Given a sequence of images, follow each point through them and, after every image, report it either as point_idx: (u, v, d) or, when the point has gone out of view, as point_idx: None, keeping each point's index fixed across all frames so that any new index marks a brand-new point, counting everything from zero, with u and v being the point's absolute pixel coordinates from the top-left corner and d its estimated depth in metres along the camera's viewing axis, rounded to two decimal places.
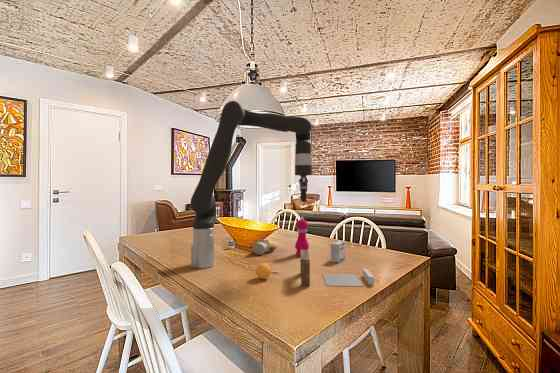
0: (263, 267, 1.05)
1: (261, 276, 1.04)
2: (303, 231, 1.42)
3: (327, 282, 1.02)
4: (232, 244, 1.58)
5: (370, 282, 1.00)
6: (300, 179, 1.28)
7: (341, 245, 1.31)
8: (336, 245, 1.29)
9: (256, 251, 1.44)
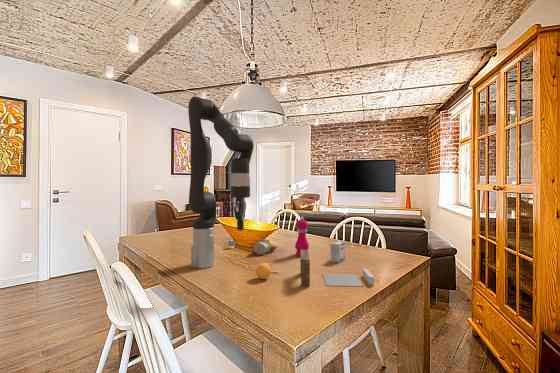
0: (263, 267, 1.05)
1: (261, 276, 1.04)
2: (303, 231, 1.42)
3: (327, 282, 1.02)
4: (232, 244, 1.58)
5: (370, 282, 1.00)
6: None
7: (341, 245, 1.31)
8: (336, 245, 1.29)
9: (257, 251, 1.44)
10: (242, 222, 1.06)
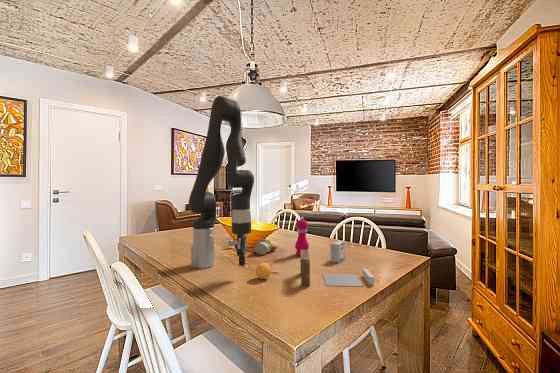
0: (263, 267, 1.05)
1: (261, 276, 1.04)
2: (303, 231, 1.42)
3: (327, 282, 1.02)
4: (232, 244, 1.58)
5: (370, 282, 1.00)
6: None
7: (341, 245, 1.31)
8: (336, 245, 1.29)
9: (258, 251, 1.44)
10: (244, 258, 1.07)
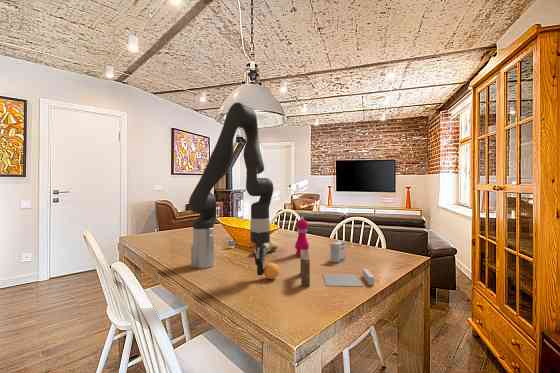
0: (274, 268, 1.05)
1: (267, 274, 1.04)
2: (303, 231, 1.42)
3: (327, 282, 1.02)
4: (232, 244, 1.58)
5: (370, 282, 1.00)
6: None
7: (341, 245, 1.31)
8: (336, 245, 1.29)
9: None
10: (262, 267, 1.05)
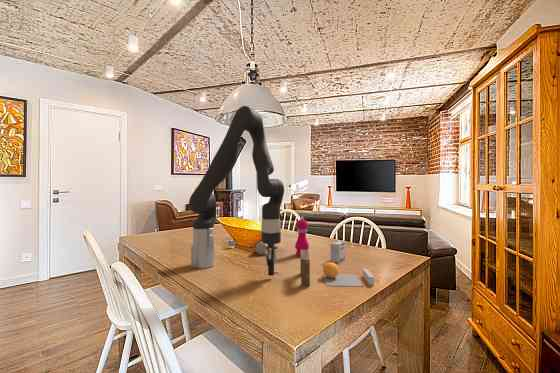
0: (336, 274, 1.06)
1: (330, 269, 1.05)
2: (303, 231, 1.42)
3: (327, 282, 1.02)
4: (232, 244, 1.58)
5: (370, 282, 1.00)
6: None
7: (341, 245, 1.31)
8: (336, 245, 1.29)
9: (259, 251, 1.44)
10: (273, 268, 1.06)
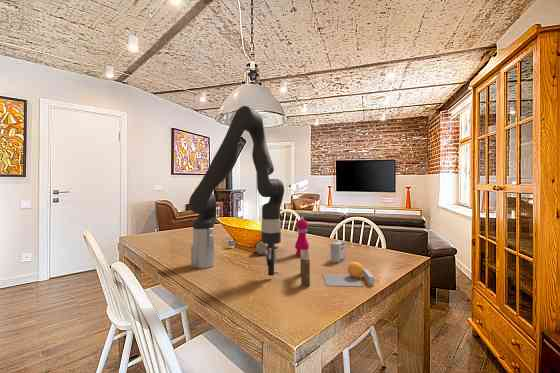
0: (353, 268, 1.06)
1: (359, 275, 1.06)
2: (303, 231, 1.42)
3: (327, 282, 1.02)
4: (232, 244, 1.58)
5: (370, 282, 1.00)
6: None
7: (341, 245, 1.31)
8: (336, 245, 1.29)
9: (260, 251, 1.44)
10: (273, 268, 1.06)
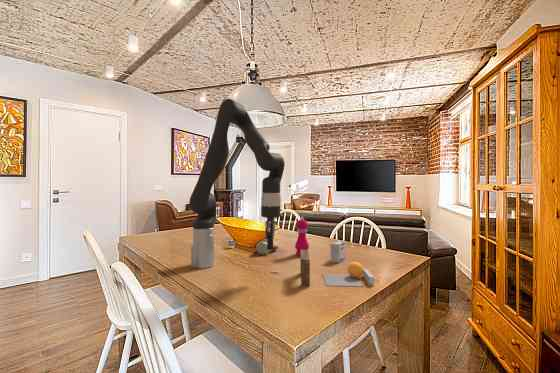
0: (352, 268, 1.06)
1: (359, 275, 1.06)
2: (303, 231, 1.42)
3: (327, 282, 1.02)
4: (232, 244, 1.59)
5: (370, 282, 1.00)
6: None
7: (341, 245, 1.31)
8: (336, 245, 1.29)
9: (260, 251, 1.44)
10: (272, 242, 1.06)
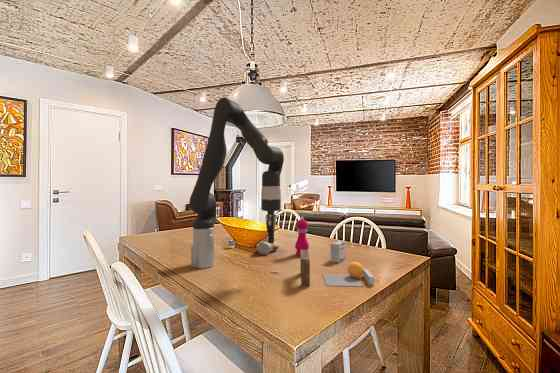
0: (352, 268, 1.06)
1: (359, 275, 1.06)
2: (303, 231, 1.42)
3: (327, 282, 1.02)
4: (232, 244, 1.59)
5: (370, 282, 1.00)
6: None
7: (341, 245, 1.31)
8: (336, 245, 1.29)
9: (261, 251, 1.44)
10: (273, 235, 1.06)
